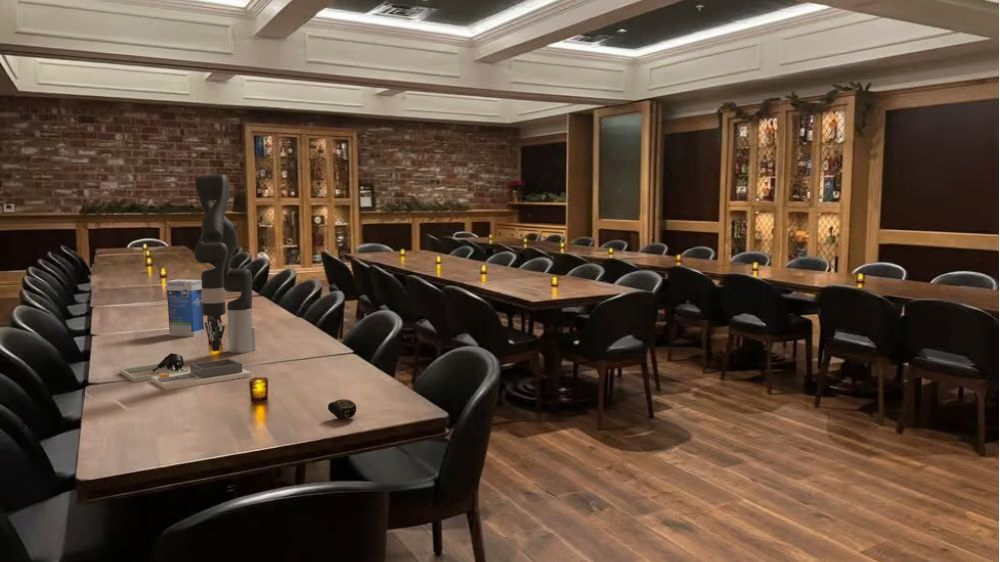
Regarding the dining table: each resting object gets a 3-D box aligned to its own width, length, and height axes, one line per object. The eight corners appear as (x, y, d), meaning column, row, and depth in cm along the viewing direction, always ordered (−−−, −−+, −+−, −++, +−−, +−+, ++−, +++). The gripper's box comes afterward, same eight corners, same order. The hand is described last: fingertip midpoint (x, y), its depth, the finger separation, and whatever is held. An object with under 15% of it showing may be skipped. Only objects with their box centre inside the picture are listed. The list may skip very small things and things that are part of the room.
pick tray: (172, 366, 270) (171, 362, 270) (188, 374, 257) (188, 370, 257) (119, 373, 259) (119, 369, 259) (133, 382, 246) (133, 377, 245)
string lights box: (204, 336, 332) (202, 279, 329) (193, 339, 324) (191, 281, 322) (180, 335, 335) (177, 279, 333) (168, 338, 328) (165, 280, 325)
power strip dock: (233, 368, 265) (233, 356, 265) (251, 376, 253) (250, 363, 253) (151, 381, 247) (150, 368, 247) (166, 390, 235) (165, 376, 235)
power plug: (158, 371, 263) (185, 353, 262) (162, 388, 259) (189, 369, 258) (146, 366, 259) (173, 347, 258) (150, 383, 254) (177, 364, 253)
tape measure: (326, 412, 205) (327, 400, 204) (348, 409, 209) (349, 397, 209) (337, 423, 200) (338, 410, 199) (359, 419, 204) (360, 406, 203)
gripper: (231, 301, 248) (233, 352, 250) (217, 298, 258) (219, 346, 260) (209, 303, 243) (211, 355, 245) (195, 300, 253) (197, 349, 255)
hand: (215, 350), depth 253 cm, fingers closed
